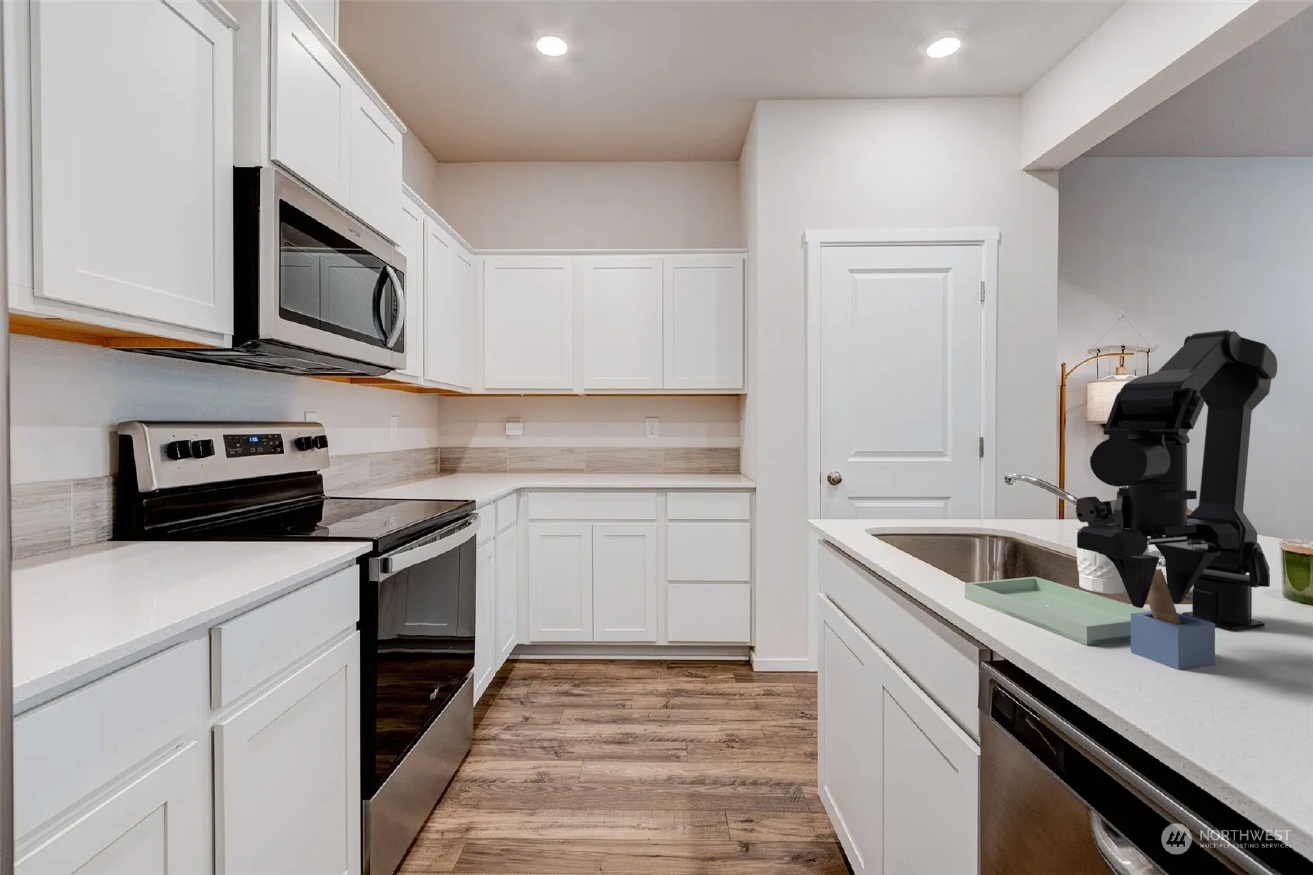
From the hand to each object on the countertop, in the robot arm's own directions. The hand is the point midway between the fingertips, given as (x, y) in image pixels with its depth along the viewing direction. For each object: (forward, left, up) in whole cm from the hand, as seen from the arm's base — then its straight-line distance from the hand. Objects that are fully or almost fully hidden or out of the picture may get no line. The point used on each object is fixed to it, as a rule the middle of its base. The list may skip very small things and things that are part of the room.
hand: (1156, 605), depth 75 cm
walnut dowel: (0, +1, 0) cm, 1 cm away
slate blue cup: (0, +2, -6) cm, 6 cm away
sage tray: (-1, -15, -6) cm, 16 cm away
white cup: (-20, -24, -6) cm, 32 cm away
